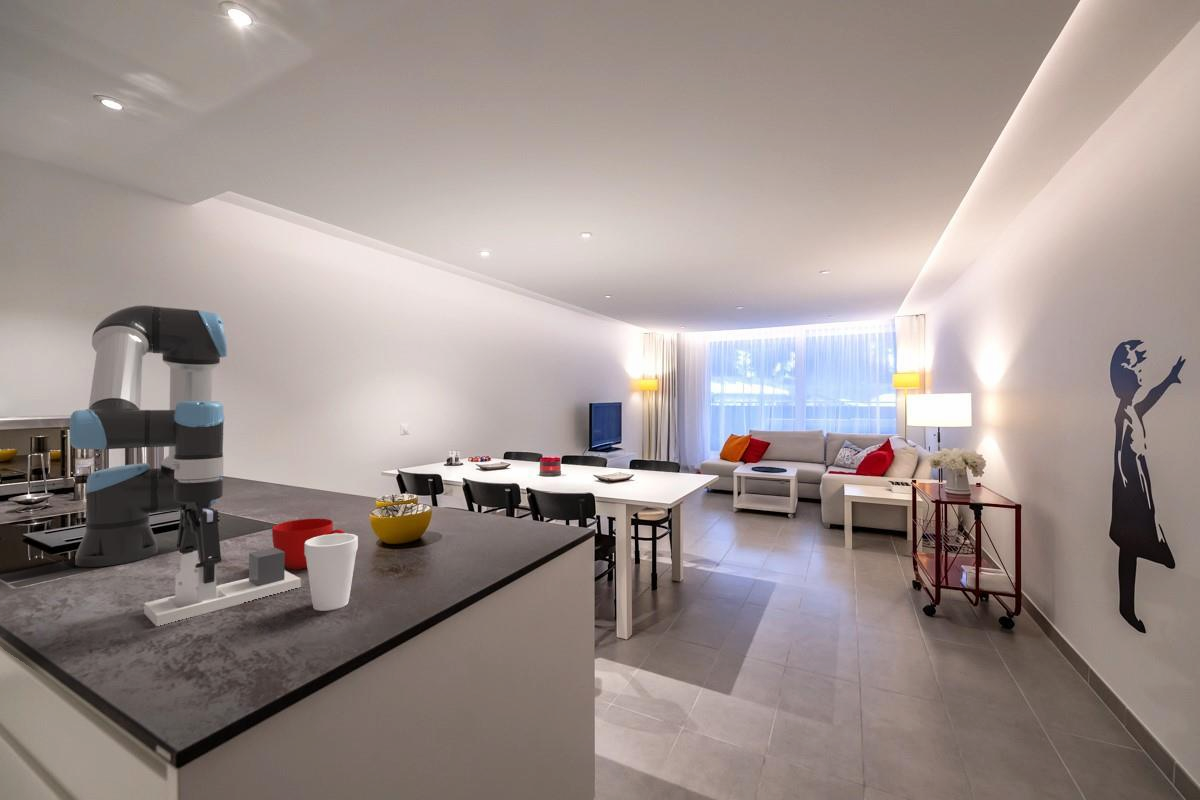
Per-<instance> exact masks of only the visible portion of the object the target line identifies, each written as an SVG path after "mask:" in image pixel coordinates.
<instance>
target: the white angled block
mask: <svg viewBox="0 0 1200 800" xmlns="http://www.w3.org/2000/svg"><path fill="white" fill-rule="evenodd" d="M209 558H211V557H209ZM198 563H200V561H199V560H198V561H197V562H196V563H194V564H192V565H191V566H189V567H187V568H185V569H184V570H182V571H180V570H179V572H177V573H175V582H174V584H175V585H174V586H175V590H174V593H175V594H174V596H175V606H176V607H177V608H181V607H185V606H189V605H193V604H197V603H201V602H205V601H209V600H213V599H217V598H219V587H216V597H215V598H211V599H207V600H203V601H199V602H198V601H197V589H198V568H196V567H195V566H196V564H198Z"/></svg>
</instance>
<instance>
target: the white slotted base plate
mask: <svg viewBox="0 0 1200 800" xmlns="http://www.w3.org/2000/svg"><path fill="white" fill-rule="evenodd" d="M285 566H286V565H285V552H284V551H281V550H279V549H277V548H274V547H273V548H272V547H271V548H268V549H263V550H262V549H261V550H259V551H258V550H257V551H252V552H249V553H248V577H247V578H243V579H239V580H235V581H231V582H227V583H226V582H225V583H221V584H218V585H217V584H216V587H219V598H217V599H213V600H209V601H205V602H201V603H197V604H193V605H189V606H185V607H181V608H177V607H176V606H175V595H172V596H168V597H163V598H160V599H154V600H151V601H146V602H144V605H143V606H144V607H143V610H144V611H143V613H144V615H145V616H146V617H147V618H148V619H149V620H150V622H152V624H153V625H154V626H155V627H157V626H158V627H161V626H164V624H165V625H168V623H169V624H172V623H176V622H179V621H178V620H180V621H183V620H186V618H187V619H190V617H191V618H194V617H197V616H202V615H205V614H209V613H213V612H216V611H219V610H224V609H227V608H231V607H234V606H238V605H242V604H245V603H244V602H246V603H249V602H248V601H250V602H253V601H252V600H254V599H257V600H259V599H258V598H261V599H263V598H262V597H265V596H268V597H270V596H269V595H272V596H274V595H273V594H276V595H278V594H277V593H279V594H281V593H280V592H283V593H286V592H285V591H287V592H289V591H288V590H290V591H292V590H291V589H294V590H296V589H295V588H298V589H300V588H299V587H302V578H301V577H299V576H297V575H295V574H293V573H291V572H289V571H287V570H286V567H285ZM265 598H266V597H265ZM254 601H255V600H254ZM182 619H183V620H182ZM175 621H176V622H175ZM171 622H172V623H171ZM160 625H161V626H160Z"/></svg>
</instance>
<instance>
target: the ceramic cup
mask: <svg viewBox="0 0 1200 800" xmlns="http://www.w3.org/2000/svg"><path fill="white" fill-rule="evenodd" d="M333 529H334V521H333V520H331V519H327V518H301V519H294V520H290V521H285V522H284V521H283V522H280V523H277V524H276V525H274V526H273V527H272V529H271V533H272V534H271V535H272V536H271V537H272V544H273V545H272V546H273V548H277V549H279V550H281V551H284V552H285V566H286V567H288V568H287V569H289V568H293V569H292V570H299V569H298V568H304V569H308V568H307V561H306V556H305V555H304V551H305V542H306V541H307V540H309V539H311V538H314V537H318V536H322V535H329V534H343V533H345V531H344V530H342V529H339V528H338V529H334V530H333Z"/></svg>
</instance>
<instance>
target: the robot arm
mask: <svg viewBox="0 0 1200 800" xmlns="http://www.w3.org/2000/svg"><path fill="white" fill-rule="evenodd" d="M91 346H92V348H93V349H94V351H95V352H96V354H95V362H94V368H93V369H94V370H93V375H92V380H91V381H92V383H91V388H90V397H89V403H88V408H87V409H83V410H74V411H73V412H72V413H71V415H70V418H69V443H70V445H71V447H72V448H74V449H76V450H100V451H104V450H118V449H136V448H137V449H138V448H139V449H140V448H160V447H161V448H166V447H168V455H167V456H166V457H165V458H164V459H162V460H161V461H160V467H159V468H158V467H157V468H156V467H155V468H151V465H150V464H149V463H148V462H146V463H144V462H143V463H142V462H141V463H132V464H125V465H119V466H113V467H107V468H103V469H99V470H96V471H94V472H91V473H90V474H89V475H88V476H87V480H86V488H85V490H84V493H85V494H86V503H85V506H86V509H85V532H84V534H83V537H82V538H81V541H80V544H79V546H78V547H77V551H76V553H75V556H74V557H75V558H74V565H75V566H76V567H77V566H78V567H83V568H96V567H99V568H100V567H108V566H117V565H122V564H127V563H132V562H133V563H134V562H137V561H141V560H144V559H147V558H150V557H153V556H155V555H156V554H158V550H159V548H158V546H159V545H158V541H157V539H156V536H155V533H154V532H153V530H152V527H151V525H150V514H155V513H165V512H173V511H180V514H179V515H180V516H179V522H178V523H179V525H178V533H177V540H176V542H177V543H176V548H177V549H178V551H179V553H180V554H179V556H180V557H179V572H180V571H182V570H184V569H185V568H187V567H189V566H191V565H192V564H194V563H196V562H197V561H200V563H198V564H196V566H195V567H196V568H198V589H197V601H198V602H199V601H203V600H207V599H211V598H215V597H216V586H217V568H218V567H217V564H218V563H221V562H222V555H221V543H220V533H219V532H220V531H219V523H218V522H219V520H218V517H219V511H218V509H214V508H213V507H212V506H214V505H215V504H216V503H217V501H218V500H219V499H220V498H222V497H223V494H224V493H223V488H224V487H223V486H224V484H223V483H224V481H223V476H224V452H223V450H224V449H223V448H224V447H223V446H224V421H225V418H226V417H225V414H224V405H223V403H222V402H220V401H212V394H213V393H212V392H213V391H212V389H213V369H215V368H216V367H217V366H219V365H220V360H221V358H225V357H227V355H228V350H227V349H228V348H227V338H226V332H225V327H224V322H223V319H222V317H221V316H220V314H218V313H215V312H212V311H211V312H210V311H204V310H199V309H187V308H175V307H162V306H155V305H154V306H153V305H147V304H146V305H134V306H129V307H126V308H123V309H120V310H117V311H115V312H113V313H111V314H109V315H108V316H106V317H104V319H102V320H101V322H100V323H99V324H98V325H97V326H96V327H95V329H94V331H93V333H92V337H91ZM147 353H150V354H161V355H162V362H163V363H165V364H166V365H167V366H168V367H169V368H170V369H169V409H141V397H142V377H143V375H142V373H143V358H144V356H145V355H146V354H147ZM209 557H211V558H209Z"/></svg>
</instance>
